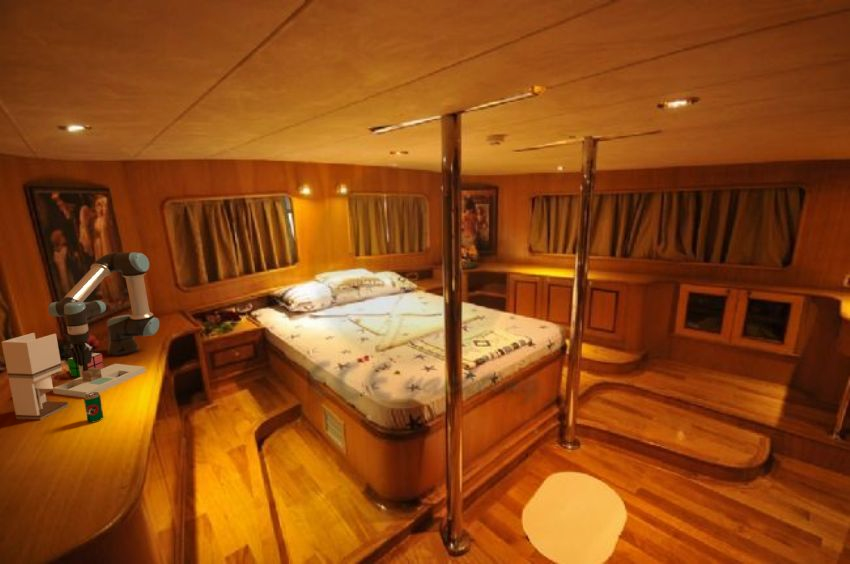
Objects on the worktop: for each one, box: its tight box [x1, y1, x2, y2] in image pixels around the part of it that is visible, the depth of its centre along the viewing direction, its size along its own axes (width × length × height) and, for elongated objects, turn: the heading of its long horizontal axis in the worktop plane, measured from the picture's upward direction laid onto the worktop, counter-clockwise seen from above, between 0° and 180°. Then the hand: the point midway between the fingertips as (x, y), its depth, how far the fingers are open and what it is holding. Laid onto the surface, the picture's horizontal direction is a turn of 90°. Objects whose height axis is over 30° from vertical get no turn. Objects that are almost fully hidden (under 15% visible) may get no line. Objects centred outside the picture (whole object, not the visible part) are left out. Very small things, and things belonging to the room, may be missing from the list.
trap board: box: [52, 363, 146, 399], centre depth 185 cm, size 30×20×3 cm, turn 170°
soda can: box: [83, 392, 104, 423], centre depth 150 cm, size 5×5×12 cm
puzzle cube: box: [67, 352, 105, 378], centre depth 194 cm, size 10×10×10 cm
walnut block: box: [82, 368, 102, 382], centre depth 181 cm, size 5×5×5 cm
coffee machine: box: [1, 332, 69, 420], centre depth 153 cm, size 11×11×35 cm
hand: (84, 376), depth 181 cm, fingers closed
